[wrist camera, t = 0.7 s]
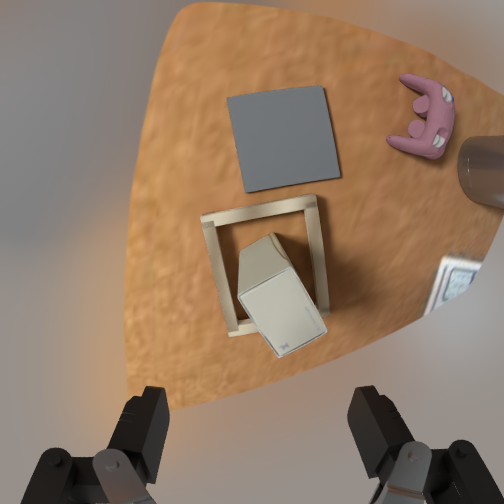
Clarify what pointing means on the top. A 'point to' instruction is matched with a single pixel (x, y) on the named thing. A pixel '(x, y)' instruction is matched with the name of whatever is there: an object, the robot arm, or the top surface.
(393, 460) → the robot arm
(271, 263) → the skincare box
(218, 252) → the wooden rectangular frame
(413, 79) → the video game controller
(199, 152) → the top surface
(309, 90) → the coaster
